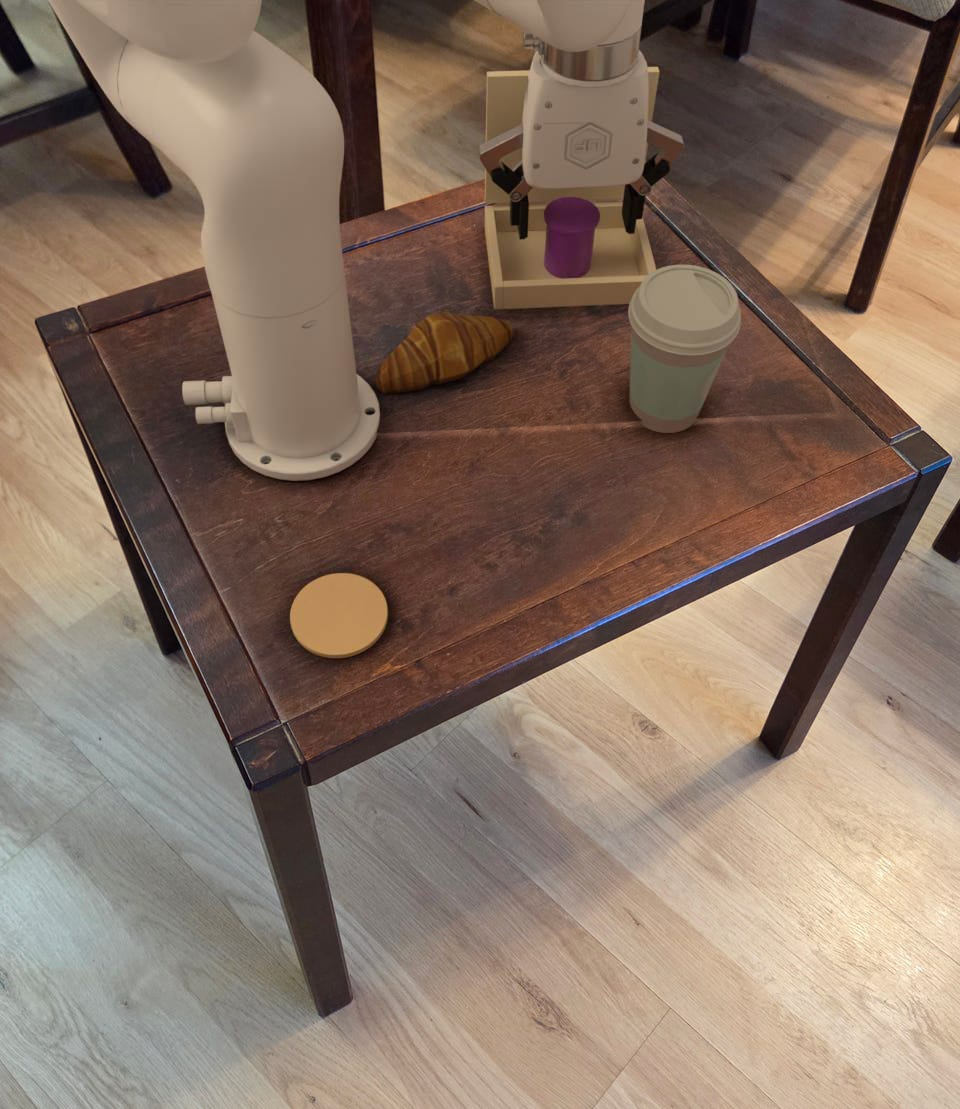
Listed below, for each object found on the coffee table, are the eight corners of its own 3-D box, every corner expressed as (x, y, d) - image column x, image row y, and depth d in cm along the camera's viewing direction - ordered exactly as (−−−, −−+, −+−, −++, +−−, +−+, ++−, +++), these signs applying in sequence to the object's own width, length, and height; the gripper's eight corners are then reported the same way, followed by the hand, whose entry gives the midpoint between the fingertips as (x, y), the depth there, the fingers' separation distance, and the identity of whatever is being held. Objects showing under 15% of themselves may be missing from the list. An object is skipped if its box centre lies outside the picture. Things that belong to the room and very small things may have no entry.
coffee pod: (543, 282, 97) (547, 232, 92) (537, 247, 99) (541, 197, 95) (597, 280, 97) (603, 230, 92) (590, 245, 100) (596, 195, 95)
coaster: (289, 661, 74) (288, 657, 74) (292, 579, 78) (291, 575, 78) (389, 655, 74) (388, 652, 74) (387, 574, 78) (386, 570, 78)
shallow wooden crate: (654, 309, 96) (659, 280, 93) (493, 315, 95) (494, 287, 92) (633, 229, 102) (638, 199, 100) (484, 234, 102) (484, 205, 99)
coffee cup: (711, 453, 86) (742, 343, 76) (606, 437, 87) (624, 326, 77) (718, 380, 91) (749, 267, 81) (619, 365, 92) (638, 252, 82)
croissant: (490, 316, 95) (492, 272, 91) (532, 362, 92) (535, 317, 88) (357, 371, 91) (352, 327, 87) (396, 421, 87) (392, 377, 83)
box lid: (659, 71, 89) (648, 36, 92) (487, 76, 88) (482, 41, 92) (639, 198, 99) (630, 163, 102) (485, 203, 98) (480, 168, 102)
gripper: (481, 75, 79) (482, 259, 93) (710, 65, 79) (677, 249, 93) (474, 22, 83) (476, 205, 97) (692, 12, 84) (662, 196, 98)
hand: (574, 226), depth 95 cm, fingers open, 9 cm apart
